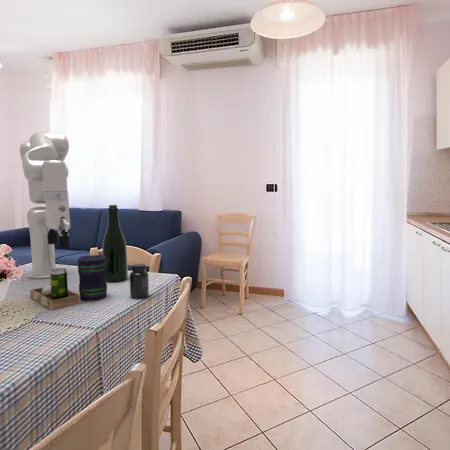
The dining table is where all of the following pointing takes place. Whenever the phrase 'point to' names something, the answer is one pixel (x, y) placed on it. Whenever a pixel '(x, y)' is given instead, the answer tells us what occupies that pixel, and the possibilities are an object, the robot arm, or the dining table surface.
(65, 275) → the beer can
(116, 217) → the wine bottle
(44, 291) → the garlic
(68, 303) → the slot rack
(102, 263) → the storage jar
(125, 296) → the dining table surface
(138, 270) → the supplement bottle
